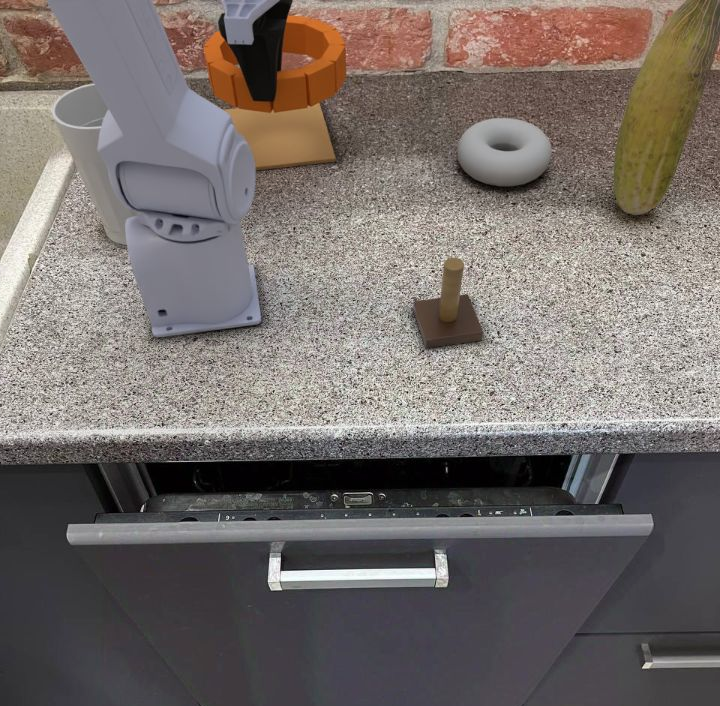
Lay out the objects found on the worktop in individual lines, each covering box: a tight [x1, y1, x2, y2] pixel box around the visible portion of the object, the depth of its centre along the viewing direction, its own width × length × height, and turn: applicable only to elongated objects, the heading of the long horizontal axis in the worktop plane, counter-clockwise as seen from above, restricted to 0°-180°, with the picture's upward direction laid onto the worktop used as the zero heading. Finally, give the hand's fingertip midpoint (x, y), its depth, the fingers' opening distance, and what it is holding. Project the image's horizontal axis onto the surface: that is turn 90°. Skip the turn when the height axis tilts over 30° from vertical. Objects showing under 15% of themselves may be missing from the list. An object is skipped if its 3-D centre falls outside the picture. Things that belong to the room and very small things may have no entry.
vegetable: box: [613, 0, 720, 216], centre depth 62 cm, size 6×6×20 cm
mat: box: [223, 102, 337, 171], centre depth 78 cm, size 13×13×1 cm
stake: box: [412, 257, 484, 349], centre depth 58 cm, size 5×5×6 cm
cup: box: [51, 82, 137, 246], centre depth 64 cm, size 8×8×12 cm
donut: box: [456, 117, 553, 187], centre depth 73 cm, size 10×3×10 cm
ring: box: [203, 14, 347, 113], centre depth 69 cm, size 14×14×3 cm
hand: (266, 92), depth 65 cm, fingers closed on ring, 2 cm apart
